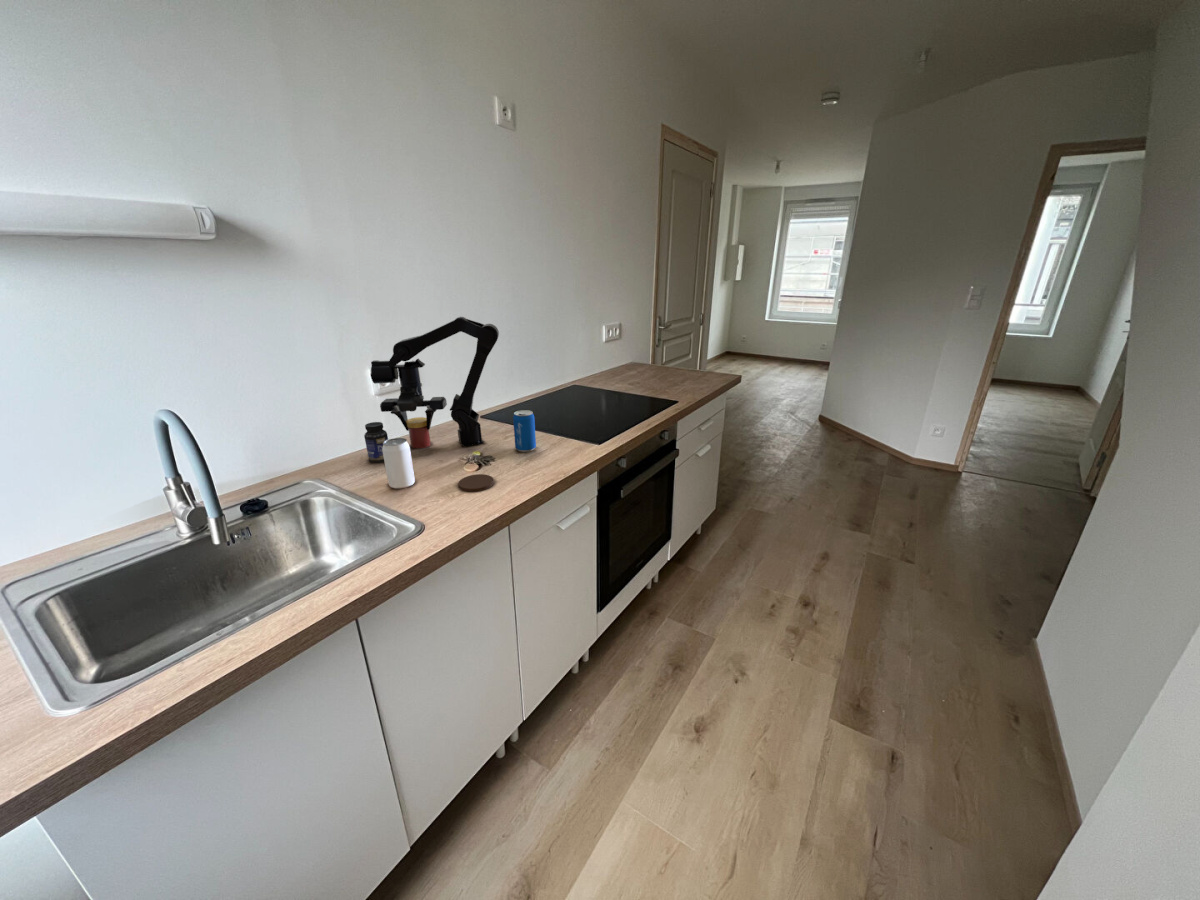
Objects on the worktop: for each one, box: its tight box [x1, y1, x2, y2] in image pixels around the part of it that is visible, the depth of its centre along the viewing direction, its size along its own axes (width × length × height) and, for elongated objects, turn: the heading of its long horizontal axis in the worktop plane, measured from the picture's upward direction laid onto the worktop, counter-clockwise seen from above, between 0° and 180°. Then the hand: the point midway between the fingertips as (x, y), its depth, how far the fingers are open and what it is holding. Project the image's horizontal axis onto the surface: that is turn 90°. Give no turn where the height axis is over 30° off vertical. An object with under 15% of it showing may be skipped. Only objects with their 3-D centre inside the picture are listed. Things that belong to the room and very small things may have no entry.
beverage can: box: [512, 409, 537, 453], centre depth 141 cm, size 6×6×12 cm
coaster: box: [457, 473, 495, 493], centre depth 119 cm, size 9×9×1 cm
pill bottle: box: [363, 421, 389, 463], centre depth 133 cm, size 6×6×11 cm
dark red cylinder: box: [407, 426, 432, 450], centre depth 145 cm, size 6×6×8 cm
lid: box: [406, 416, 427, 428], centre depth 144 cm, size 6×6×2 cm
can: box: [382, 437, 416, 490], centre depth 117 cm, size 6×6×12 cm
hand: (418, 430), depth 144 cm, fingers closed on lid, 6 cm apart
